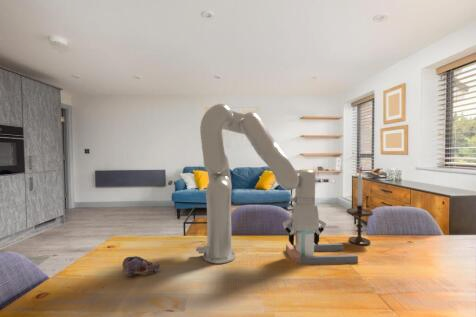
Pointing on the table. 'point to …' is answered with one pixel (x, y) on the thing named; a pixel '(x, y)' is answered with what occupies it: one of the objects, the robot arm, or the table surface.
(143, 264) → the skull
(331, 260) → the track
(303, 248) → the can
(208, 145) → the robot arm
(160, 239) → the table surface
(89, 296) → the table surface
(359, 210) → the candlestick
